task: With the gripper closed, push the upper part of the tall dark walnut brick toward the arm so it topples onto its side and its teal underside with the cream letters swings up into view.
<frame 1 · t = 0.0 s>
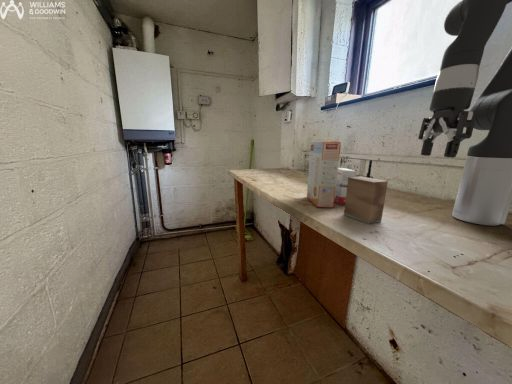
hand: (436, 156, 54), 17 cm above the table, tool pointing down, fingers open, 8 cm apart
walkie-talkie: (364, 203, 72), on the table
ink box: (341, 202, 73), on the table
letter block: (361, 217, 57), on the table
cracker box: (319, 202, 72), on the table
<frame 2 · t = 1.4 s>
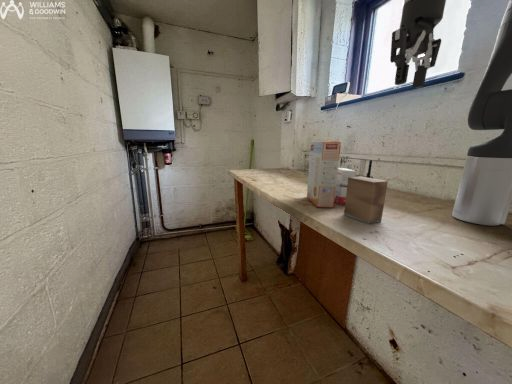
hand: (409, 85, 48), 34 cm above the table, tool pointing down, fingers open, 6 cm apart
nothing on the table moved.
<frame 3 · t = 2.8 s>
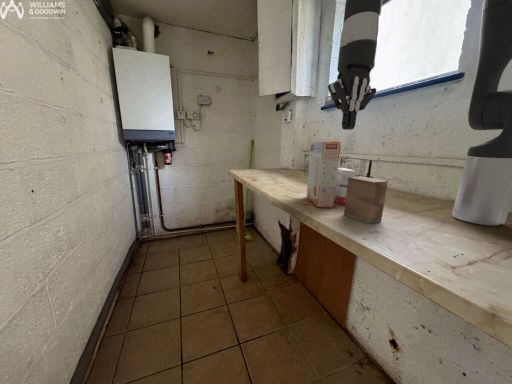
hand: (347, 129, 48), 23 cm above the table, tool pointing down, fingers closed
nothing on the table moved.
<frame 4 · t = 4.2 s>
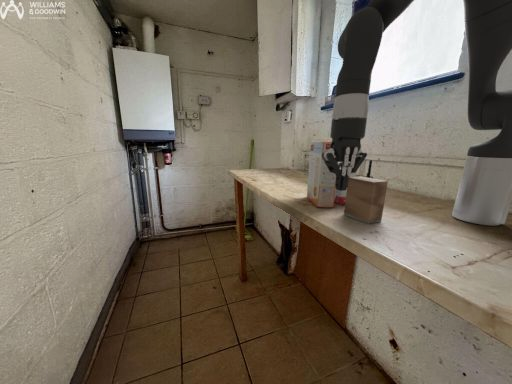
hand: (340, 189, 51), 9 cm above the table, tool pointing down, fingers closed
nothing on the table moved.
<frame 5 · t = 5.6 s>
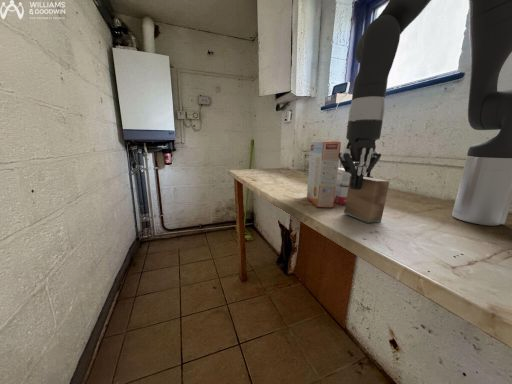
hand: (355, 189, 53), 9 cm above the table, tool pointing down, fingers closed
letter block: (361, 217, 57), on the table, touching gripper
everything else where it was.
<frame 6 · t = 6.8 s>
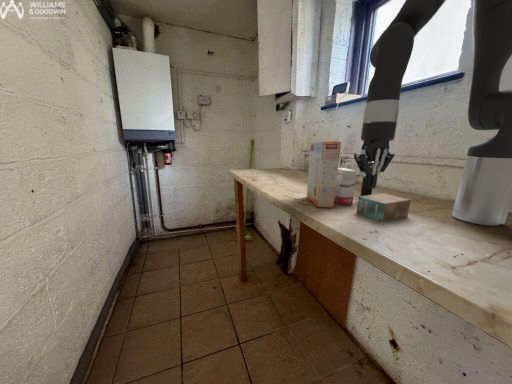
hand: (369, 187, 56), 8 cm above the table, tool pointing down, fingers closed
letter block: (369, 208, 57), point 2 cm above the table, tilted 90°
everything else where it was.
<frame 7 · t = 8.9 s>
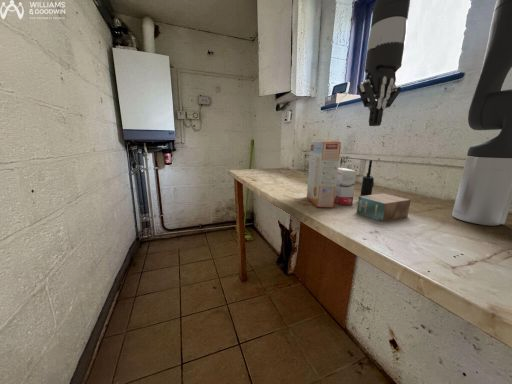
hand: (374, 125, 51), 25 cm above the table, tool pointing down, fingers closed
nothing on the table moved.
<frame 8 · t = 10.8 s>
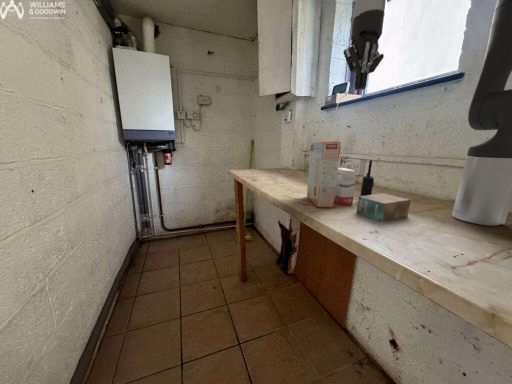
hand: (359, 89, 57), 35 cm above the table, tool pointing down, fingers closed
nothing on the table moved.
at the end: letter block tilted 90°; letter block inside the target area (2.9 cm from its centre), point 2.5 cm above the table; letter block moved 3.6 cm from its start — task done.
